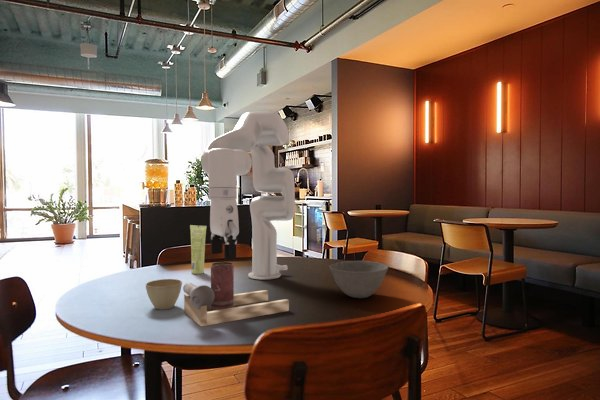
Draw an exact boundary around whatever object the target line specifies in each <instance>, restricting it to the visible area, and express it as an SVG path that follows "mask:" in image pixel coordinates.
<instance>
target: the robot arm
mask: <svg viewBox="0 0 600 400" xmlns="http://www.w3.org/2000/svg"><path fill="white" fill-rule="evenodd" d="M288 140H289V129H288V127H287V124H286V122H285V121H284V119H283V118H282V116H281V115H280V114H279V112H278V113H277V112H276V111H272V110H270V111H269V110H268V111H264V110H263V111H262V110H261V111H259V110H258V111H247V112H245V113H243V114H242V115H241V116H240V118H239V119H238V121H237V123H236V125H235V126H234V128H233V130H230V131H229V132H226V133H224V134H222V135H220V136H217V137H216V138H214V139H212V140H211V141H210V142H209V144H208V145H207V146H206V148H205V150H204V151H203V154H202V157H201V161H200V162H201V168H202V171H203V172H204V173H205V174H206V175H208V200H210V211H209V228H210V229H209V230H210V232H209V233H210V234H211V235H210V246H211V248H210V253H211V254H213V255H216V254H222V253H223V252H224V253H223V254H224V255H223V256H224V260H226V261H228V260H236V259H237V243H238V235H239V233H240V227H239V225H240V224H239V210H238V203H237V198H238V196H237V195H238V194H237V193H238V192H237V189H238V187H237V184H238V183H237V181H238V180H237V176H238V177H239V176H244V175H247V174H248V173H249V172H250V171H251V169H252V185H253V188H254V190H255V191H256V192H258V193H268V194H270V193H271V194H272V193H273V194H281V195H259V196H255V197H253V198H252V199H251V201H250V203H249V211H250V217H251V225H252V228H251V231H252V232H251V233H252V235H251V236H252V237H251V238H252V239H251V242H252V244H251V245H252V247H251V248H252V250H251V251H252V256H251V257H252V260H251V261H252V263H251V264H252V265H251V269H252V270H251V271H250V272H248V278H249V279H253V280H263V281H265V280H274V279H275V280H276V279H278V278H280V277H281V275H282V273H280V272H281V271H287V270H288V265H287V264H284V265H281V264H278V260H277V256H278V253H277V251H278V249H277V248H278V247H277V244H278V243H277V242H278V240H277V238H278V236H277V235H278V233H277V229H276V227H275V225H273V223H272V221H273V222H274V221H276V222H277V221H284V222H285V221H291V220H293V219H294V218H295V215H296V214H295V213H296V195H295V193H296V192H295V191H296V190H295V189H296V188H295V175H294V173H293V171H292V170H291V169H290V168H286V167H276V166H275V154H274V152H273V151H272V149H271V147H270V146H273V147H275V146H278V147H279V146H284V145H286V143H287V142H288ZM249 152H250V153H249ZM222 237H223V238H222ZM223 239H224V242H225V244H224V245H223ZM223 249H224V250H223Z"/></svg>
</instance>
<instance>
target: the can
mask: <svg viewBox="0 0 600 400" xmlns="http://www.w3.org/2000/svg"><path fill="white" fill-rule="evenodd" d="M234 270H235V269H234V265H233V263H232V262H229V261H219V262H214V263H212V265H211V266H210V288H211V289H212V290H213V291H214V295H215V297H214V301H213V303H212V305H211V310H210V311H215V310H221V309H227V308H233V307H235V306H234V293H235V291H234V289H235V288H234V283H235V282H234V277H235V275H234Z"/></svg>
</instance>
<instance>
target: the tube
mask: <svg viewBox="0 0 600 400" xmlns="http://www.w3.org/2000/svg"><path fill="white" fill-rule="evenodd" d="M189 230H190V250H191V251H190V252H191V254H190V255H191V257H190V258H191V263H190V265H191V266H190V267H191V274H194V275H200V274H201V275H202V274H203V273H204V272H205V253H206V252H205V251H206V239H207V238H206V235H207V225H195V224H194V225H193V224H190V225H189Z"/></svg>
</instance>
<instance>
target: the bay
mask: <svg viewBox="0 0 600 400" xmlns="http://www.w3.org/2000/svg"><path fill="white" fill-rule="evenodd" d="M182 290H183V292H184V293H185V294H183V297H184V298H183V301H184V302H183V304H184V306H183V307H184V309H183V310H184V311H183V312H184V313H185V314H186V315H187V316H188V317H190V318H191V320H193V321H194V322H195V323H196V324H198V325H199V326H200V327H205V326H212V325H216V324H222V323H229V322H233V321H239V320H245V319H251V318H256V317H261V316H265V315H266V316H267V315H273V314H279V313H284V312H289V310H290V300H289V299H287V298H284V299H278V300H272V301H269V290H267V289H264V290H255V291H250V292H249V291H248V292H242V293H235V294H234V307H233V308H227V309H221V310H215V311H211V305H212V303H213V301H214V297H215V295H214V291H213V290H212V289H211V286H209V285H206V284H202V285H198V286H197V285H196V284H194V283H193V282H186V283H185V284H184V285H183V287H182Z"/></svg>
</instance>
